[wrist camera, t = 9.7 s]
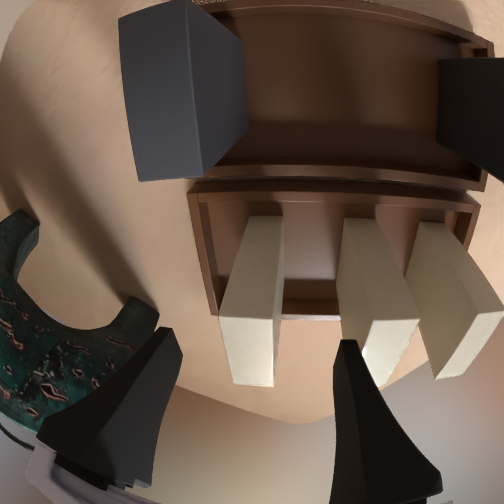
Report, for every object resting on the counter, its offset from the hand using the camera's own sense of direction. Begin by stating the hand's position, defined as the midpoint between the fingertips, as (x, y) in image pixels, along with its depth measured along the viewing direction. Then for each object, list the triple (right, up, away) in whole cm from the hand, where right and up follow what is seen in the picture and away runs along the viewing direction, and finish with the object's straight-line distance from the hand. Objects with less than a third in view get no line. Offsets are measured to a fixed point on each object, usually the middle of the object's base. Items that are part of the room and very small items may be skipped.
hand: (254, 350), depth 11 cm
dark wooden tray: (+5, +13, 0) cm, 14 cm away
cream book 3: (+11, +4, +5) cm, 13 cm away
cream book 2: (+6, +4, +5) cm, 9 cm away
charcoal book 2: (+11, +12, -1) cm, 16 cm away
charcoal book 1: (-1, +13, +1) cm, 13 cm away
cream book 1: (+1, +4, +6) cm, 8 cm away
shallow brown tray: (+5, +4, +6) cm, 9 cm away
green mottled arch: (-16, +3, +10) cm, 19 cm away
